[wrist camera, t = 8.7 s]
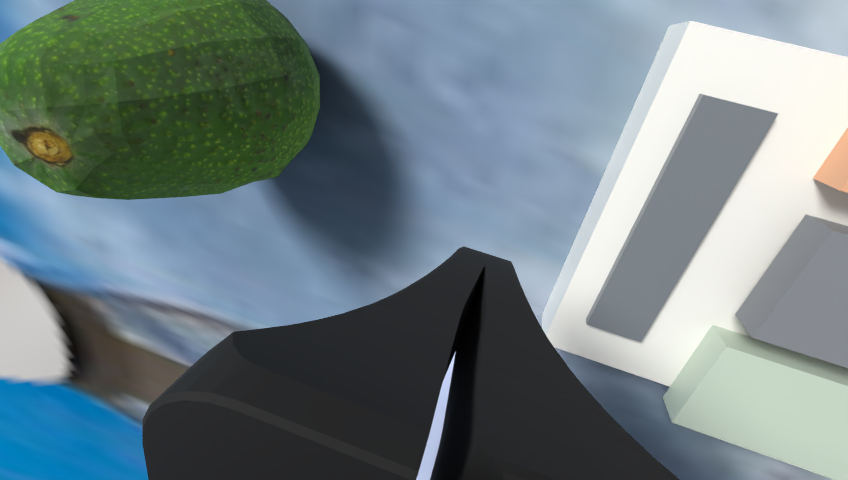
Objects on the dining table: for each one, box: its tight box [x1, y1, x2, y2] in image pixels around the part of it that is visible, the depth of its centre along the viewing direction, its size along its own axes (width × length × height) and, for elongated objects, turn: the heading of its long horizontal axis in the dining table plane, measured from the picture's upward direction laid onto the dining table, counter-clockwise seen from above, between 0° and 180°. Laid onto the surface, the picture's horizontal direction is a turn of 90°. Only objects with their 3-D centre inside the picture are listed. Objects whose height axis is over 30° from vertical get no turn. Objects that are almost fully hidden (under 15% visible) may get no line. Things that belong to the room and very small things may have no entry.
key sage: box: [663, 325, 848, 480], centre depth 17 cm, size 4×8×2 cm, turn 77°
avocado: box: [0, 0, 320, 200], centre depth 15 cm, size 8×8×12 cm
